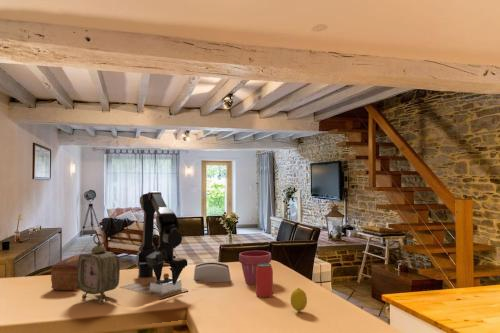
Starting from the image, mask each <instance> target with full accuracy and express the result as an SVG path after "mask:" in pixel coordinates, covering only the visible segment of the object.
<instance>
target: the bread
mask: <svg viewBox="0 0 500 333" xmlns="http://www.w3.org/2000/svg"><path fill="white" fill-rule="evenodd" d="M81 254H82V253H80V254H75V255H71V256H70V257H68V258H64V259H63V260H60V261H58V262H56V263H55V264H53V265H52V266H51V267H50V276H51V277H50V281H51V289H52V290H56V291H73V290H76V289H79V286H78V272H77V271H78V259H79V256H80V255H81Z"/></svg>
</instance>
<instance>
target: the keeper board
mask: <svg viewBox="0 0 500 333" xmlns="http://www.w3.org/2000/svg"><path fill="white" fill-rule="evenodd" d="M162 277H163V279H164V283H168V282H169V277H170V275H169V273H167V272H165V273H164V274H163V276H162ZM150 282H154V281H152V280H147V279H145V280H143V281H141V280H140V281H138V282H133V283H130V284H126V285H123V286H119V288H121V289H124V290H128V291H132V292H138V293H141V294H145V295H148V296H152V297H157V298H159V299H158V300H159V301H162V300H166V299H169V298H173V297H175V296H177V295H178V296H179V295H182V294H185V293H188V292H189V290H188V288H185V287H181V290H179V291H176V292H172V293H169V294H166V295H163V296H161V295H157V294H153V293H150Z"/></svg>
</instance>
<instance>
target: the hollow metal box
mask: <svg viewBox="0 0 500 333" xmlns="http://www.w3.org/2000/svg"><path fill="white" fill-rule="evenodd" d="M181 288H182V279H180V278H178V280H177V282H176V284H175V285H173V283H172V277H170V276H169V282H168V283H164V278H160V280H158V281H157V280H155V281H153V282H150V293H153V294H157V295H161V296H163V295H166V294H169V293H172V292H176V291H179V290H181Z"/></svg>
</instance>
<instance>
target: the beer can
mask: <svg viewBox="0 0 500 333" xmlns="http://www.w3.org/2000/svg"><path fill="white" fill-rule="evenodd" d="M273 279H274V271H273V267H272V264H271V263H269V264H268V263H261V264H258V265H257V268H256V284H255V294H256V297H258V298H260V299H261V298H262V299H266V298H268V299H269V298H271V297H273V296H274V280H273Z"/></svg>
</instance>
